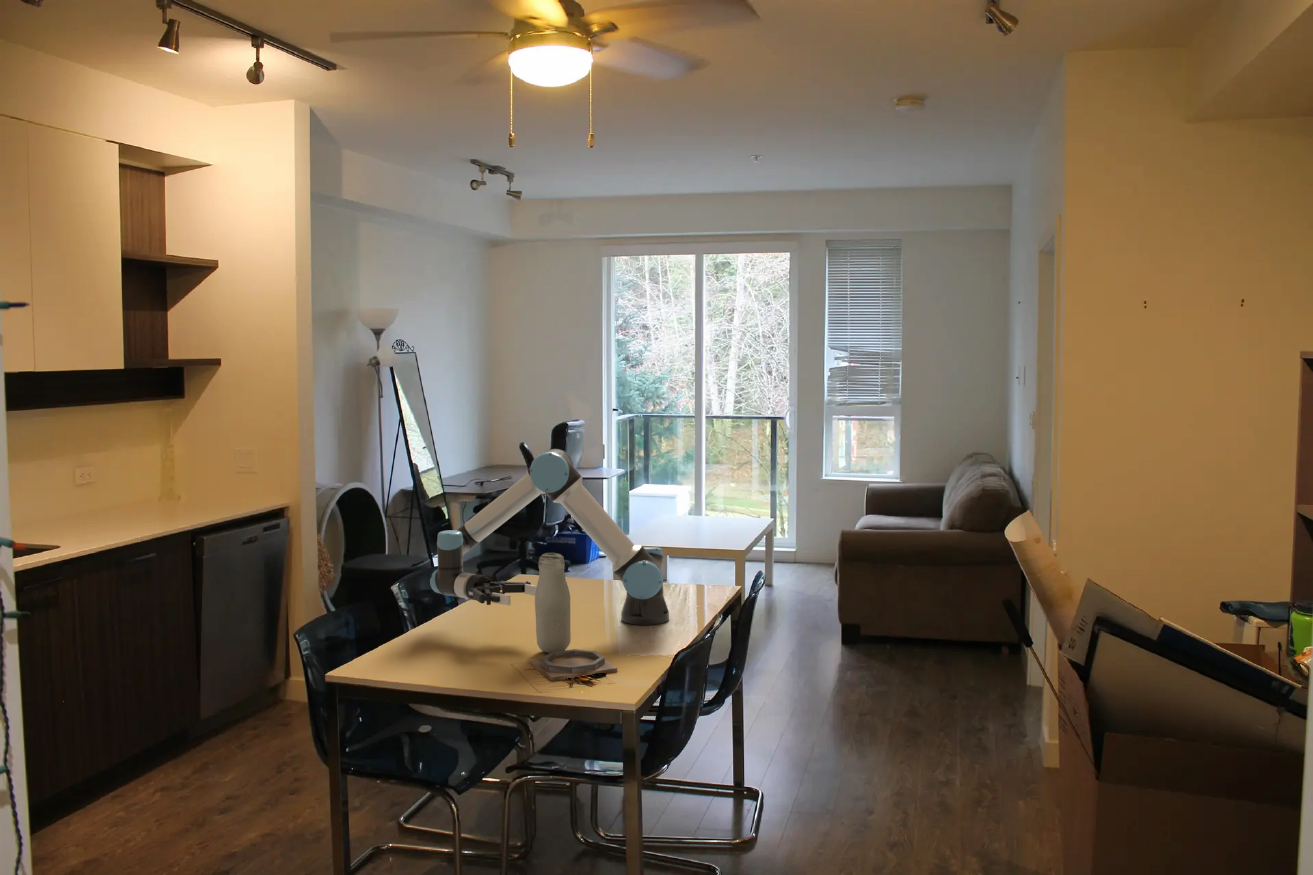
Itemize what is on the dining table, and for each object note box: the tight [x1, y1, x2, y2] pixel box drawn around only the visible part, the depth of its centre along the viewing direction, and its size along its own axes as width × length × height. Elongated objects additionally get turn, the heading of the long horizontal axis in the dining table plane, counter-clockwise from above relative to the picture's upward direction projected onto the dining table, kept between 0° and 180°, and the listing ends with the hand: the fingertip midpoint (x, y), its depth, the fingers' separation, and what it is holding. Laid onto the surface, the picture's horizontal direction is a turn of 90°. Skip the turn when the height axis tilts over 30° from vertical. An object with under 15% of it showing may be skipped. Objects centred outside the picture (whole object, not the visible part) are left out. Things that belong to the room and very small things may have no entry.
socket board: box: [529, 648, 618, 682], centre depth 260 cm, size 18×18×2 cm
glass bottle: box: [534, 552, 572, 654], centre depth 274 cm, size 10×10×28 cm
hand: (526, 595), depth 279 cm, fingers open, 13 cm apart
